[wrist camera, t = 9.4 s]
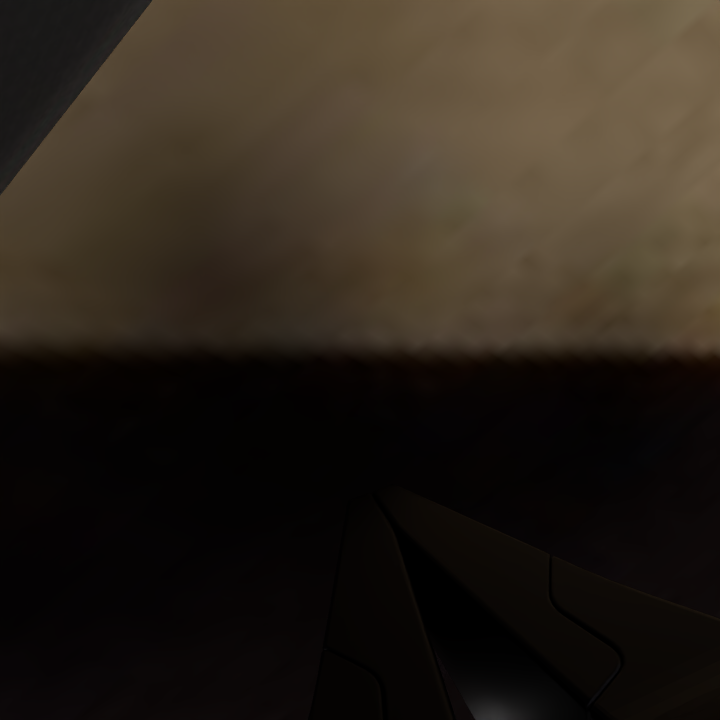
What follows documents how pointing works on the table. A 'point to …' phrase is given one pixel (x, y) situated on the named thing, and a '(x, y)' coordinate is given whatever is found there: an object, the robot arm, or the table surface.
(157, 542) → the table surface
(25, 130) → the barrier
